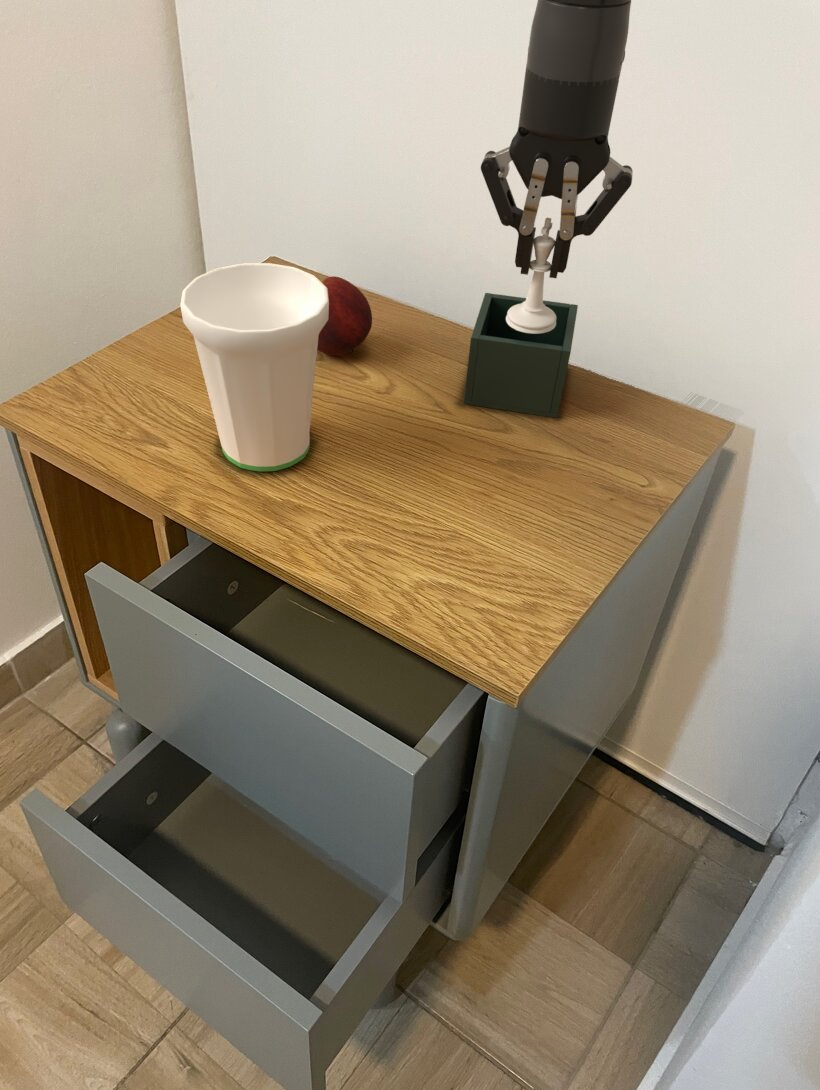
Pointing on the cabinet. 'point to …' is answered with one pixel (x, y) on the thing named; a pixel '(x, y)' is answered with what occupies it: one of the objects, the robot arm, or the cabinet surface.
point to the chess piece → (535, 291)
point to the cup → (258, 357)
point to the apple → (344, 318)
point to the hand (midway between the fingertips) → (539, 272)
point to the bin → (518, 359)
